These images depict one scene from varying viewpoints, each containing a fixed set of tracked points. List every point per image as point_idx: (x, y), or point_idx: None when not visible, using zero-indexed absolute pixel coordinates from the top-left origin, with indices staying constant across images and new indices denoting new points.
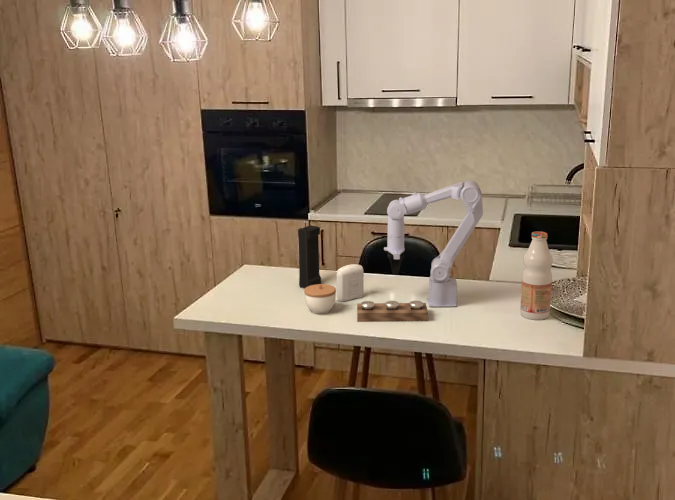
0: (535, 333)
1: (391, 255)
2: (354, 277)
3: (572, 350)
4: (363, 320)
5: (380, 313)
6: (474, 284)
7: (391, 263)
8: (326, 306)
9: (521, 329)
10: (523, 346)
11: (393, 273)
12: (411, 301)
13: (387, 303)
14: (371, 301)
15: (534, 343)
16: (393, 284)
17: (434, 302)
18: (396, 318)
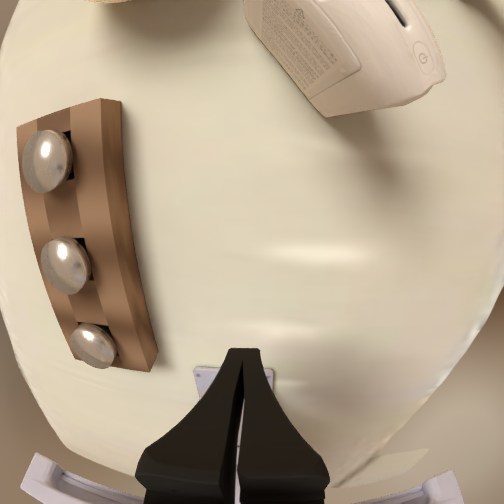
0: (107, 451)
1: (154, 487)
2: (301, 35)
3: (75, 451)
4: None
5: (28, 215)
6: (369, 439)
7: (190, 414)
8: None
9: (114, 447)
10: (58, 424)
11: (227, 354)
12: (96, 340)
13: (53, 250)
14: (59, 176)
15: (73, 437)
16: (450, 264)
17: (204, 387)
18: None
